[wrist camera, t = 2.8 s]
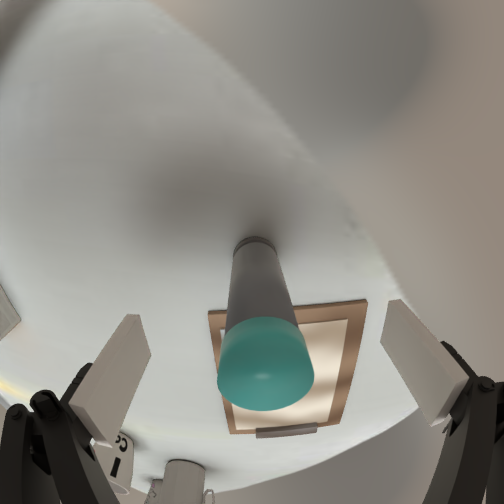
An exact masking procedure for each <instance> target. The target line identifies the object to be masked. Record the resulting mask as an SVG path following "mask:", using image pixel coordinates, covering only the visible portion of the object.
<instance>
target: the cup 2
mask: <svg viewBox="0 0 504 504" xmlns="http://www.w3.org/2000/svg"><path fill="white" fill-rule="evenodd" d="M162 484H163V480H159V479H154V480H153V482H152V485H151V487H150V490H149V492H148V495H147V498H146V500H145V503H144V504H159V500H160V494H161V489H162Z"/></svg>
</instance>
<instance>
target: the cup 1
mask: <svg viewBox="0 0 504 504" xmlns="http://www.w3.org/2000/svg"><path fill="white" fill-rule="evenodd" d="M93 449H94V451H95V454H96V456H97V459H98V461H99V463H100V465H101V468H102V470H103V472H104V474H105V476H106V478H107V480H108V482H109V484H110V486H111V488H112V490H113V492H114V493H119V494H124V495H126V494H129V491H130V486H131V480H132V475H133V462H134V451H133V442H132V440H131V439H130V438H129V437H127V436H126V435H124V434H122V433H120V432H119V434H118V436H117V439H116V441H115V444H114V447H113V448H110V447H106V446H103V445H99V444H97V442H95V444H94V445H93Z"/></svg>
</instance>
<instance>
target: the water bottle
mask: <svg viewBox="0 0 504 504" xmlns="http://www.w3.org/2000/svg"><path fill="white" fill-rule="evenodd" d="M204 480H205V470H204V469H203V468H202V467H200V466H199V465H197V464H195V463H192V462H188V461H182V460H179V461H171V462H169V463H168V464H166V468H165V473H164V478H163V484H162V489H161V494H160V500H159V504H202V503H203V504H205V495H206V494H207V493H208V492H210V491H212V498H213V503H212V504H215V501H214V492H213V490H211V489H207V490H206V491H205V493H204V494H203V491H204Z"/></svg>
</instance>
